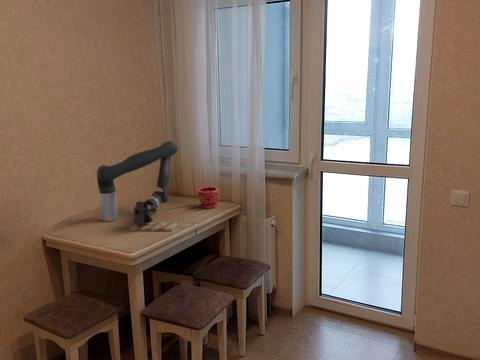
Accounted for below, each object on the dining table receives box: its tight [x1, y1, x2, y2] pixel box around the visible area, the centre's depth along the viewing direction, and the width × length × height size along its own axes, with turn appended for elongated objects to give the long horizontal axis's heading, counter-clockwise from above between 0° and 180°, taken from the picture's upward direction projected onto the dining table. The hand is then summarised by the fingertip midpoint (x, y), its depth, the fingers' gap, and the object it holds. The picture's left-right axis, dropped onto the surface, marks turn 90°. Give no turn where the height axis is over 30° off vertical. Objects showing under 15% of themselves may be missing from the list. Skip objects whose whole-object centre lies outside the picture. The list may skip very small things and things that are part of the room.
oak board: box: [129, 222, 177, 232], centre depth 237 cm, size 24×10×2 cm, turn 82°
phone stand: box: [133, 200, 154, 226], centre depth 236 cm, size 9×6×12 cm, turn 140°
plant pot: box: [197, 186, 219, 209], centre depth 276 cm, size 13×13×12 cm
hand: (140, 212), depth 234 cm, fingers closed on phone stand, 6 cm apart
